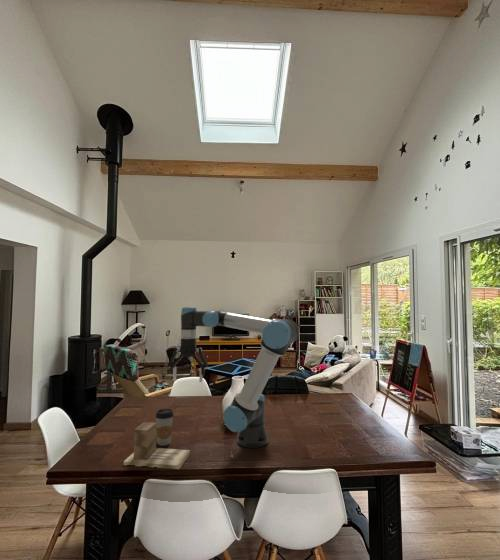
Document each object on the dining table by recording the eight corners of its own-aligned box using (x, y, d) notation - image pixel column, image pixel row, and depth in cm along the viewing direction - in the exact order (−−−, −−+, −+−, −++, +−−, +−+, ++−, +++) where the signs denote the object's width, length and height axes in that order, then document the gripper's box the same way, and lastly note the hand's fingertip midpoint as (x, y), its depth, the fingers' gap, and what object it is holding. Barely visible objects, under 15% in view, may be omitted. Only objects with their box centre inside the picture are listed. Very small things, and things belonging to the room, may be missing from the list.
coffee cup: (155, 447, 151) (155, 414, 152) (155, 440, 159) (155, 409, 160) (173, 445, 154) (174, 413, 155) (172, 438, 162) (173, 407, 163)
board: (190, 453, 145) (190, 450, 146) (178, 469, 132) (179, 465, 132) (139, 450, 149) (139, 446, 149) (123, 465, 135) (123, 461, 135)
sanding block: (156, 450, 145) (156, 422, 146) (146, 459, 136) (147, 430, 137) (143, 449, 146) (144, 422, 147) (133, 458, 137) (134, 429, 138)
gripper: (214, 337, 165) (214, 380, 163) (167, 336, 168) (166, 378, 167) (210, 339, 157) (210, 383, 156) (161, 338, 161) (160, 381, 159)
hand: (187, 381), depth 161 cm, fingers open, 13 cm apart
